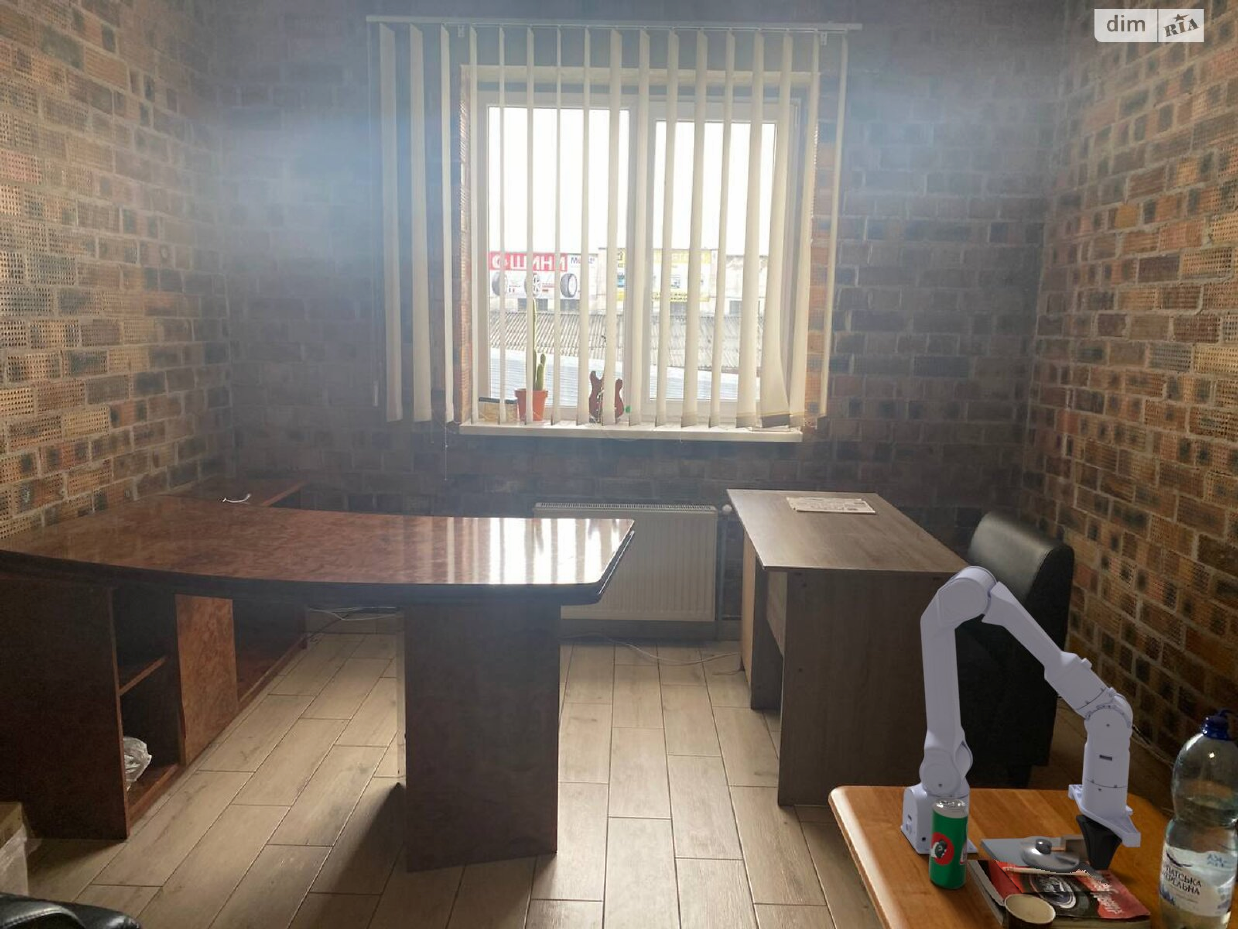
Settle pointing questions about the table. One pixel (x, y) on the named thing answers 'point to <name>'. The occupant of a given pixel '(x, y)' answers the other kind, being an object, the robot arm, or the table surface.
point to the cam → (1054, 852)
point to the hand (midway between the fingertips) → (1098, 868)
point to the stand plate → (1011, 854)
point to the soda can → (948, 842)
